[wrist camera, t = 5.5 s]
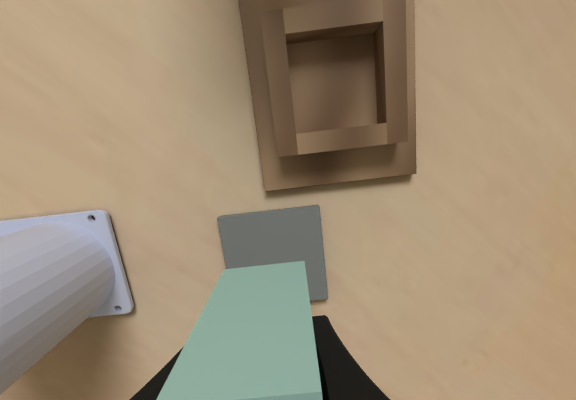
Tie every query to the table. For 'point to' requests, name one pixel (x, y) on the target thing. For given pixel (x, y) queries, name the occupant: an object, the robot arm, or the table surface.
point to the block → (251, 340)
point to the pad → (277, 242)
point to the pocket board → (332, 89)
